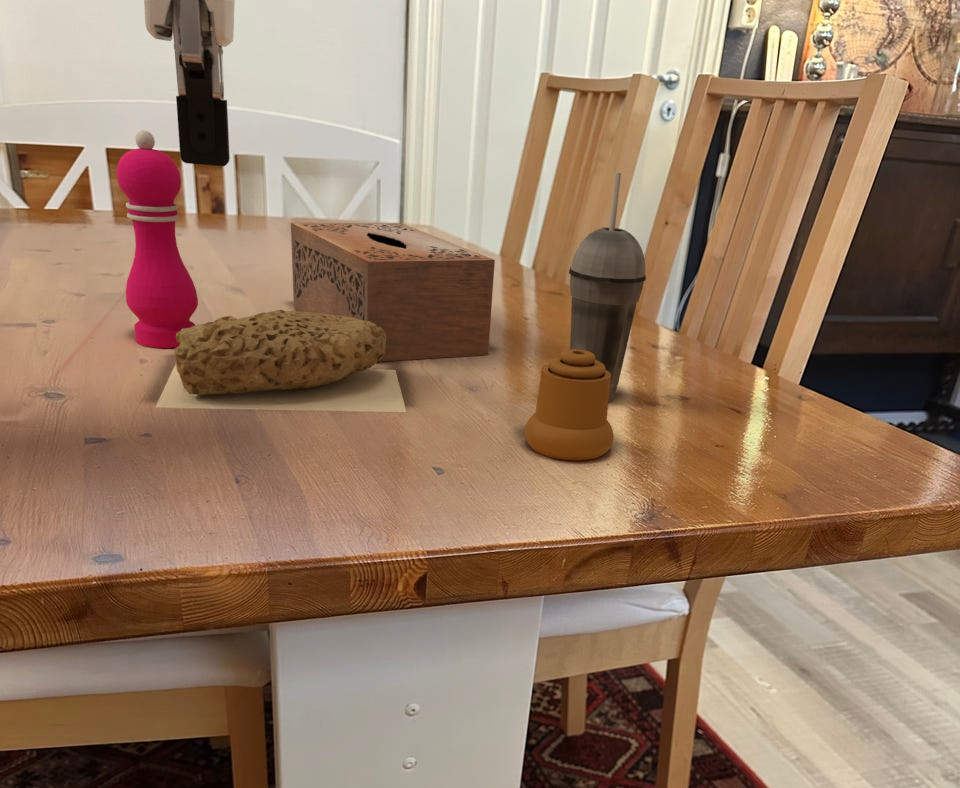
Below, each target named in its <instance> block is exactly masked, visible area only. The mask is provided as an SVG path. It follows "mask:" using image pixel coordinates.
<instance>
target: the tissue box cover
mask: <svg viewBox="0 0 960 788" xmlns="http://www.w3.org/2000/svg"><path fill="white" fill-rule="evenodd" d="M290 238H291V240H290V241H291V242H290V243H291V268H292V269H291V270H292V297H293V299H292V300H293V309H294V311H300V312H310V313H321V314H329V315H336V316H345V317H353V318H356V319H360V320H363V321H366V320H368V321H370V322H372V323H374V324H376V326H377V327H378V326H380V327H381V328H382V329H383V330H384V332H385V334H386V346H385V354H384V356H383V357H382V358H381V359H380V360H378V361H377V362H376V363H378V362H396V361H409V360H410V361H411V360H426V359H443V358H461V357H476V356H489V350H490V349H489V347H490V335H491V333H490V332H491V321H492V304H493V294H494V293H493V291H494V277H495V264H496V263H495V262H496V260H495V259H493V258H491V257H488V256H486V255H483V254H481V253H478V252H476V251H474V250H470V249H468V248H465V247H462V246H460V245H458V244H455V243H452V242H450V241H447V240H446V239H443V238H440V237H437V236H435V235H433V234H430V233H428V232H424V231H422V230H419V229H417V228H415V227H412V226H409V225H407V224H404V223H403V222H402V223H401V222H400V223H399V222H290Z"/></svg>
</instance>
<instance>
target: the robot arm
mask: <svg viewBox="0 0 960 788" xmlns="http://www.w3.org/2000/svg"><path fill="white" fill-rule="evenodd" d="M235 1H236V0H143V3H144V4H143V5H144V22H145V23H144V24H145V29H146V31H147V32H148V34H150V36H152V37H153V38H154V39H156V40H159V41H160V40H161V41H166V42H171V41H172V40H173V49H174V61H175V74H176V83H177V94H178V95H176V96H175V98H176V99H175V101H176V113H177V129H178V130H177V131H178V143H179V156H180V160H181V162H182V163H184V164H190V165H200V166H201V165H202V166H212V167H213V166H216V167H225V166H227V165H228V164H229V162H230V159H231V157H230V142H229V141H230V137H229V136H230V135H229V134H230V133H229V116H228V114H229V113H228V100H227V99H225V86H224V85H225V82H224V57H223V55H224V49H223V48H226V47H227V46H229V45H230V44H232V43H233V42H234V30H235V29H234V27H235V25H234V24H235Z"/></svg>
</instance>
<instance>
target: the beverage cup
mask: <svg viewBox="0 0 960 788" xmlns="http://www.w3.org/2000/svg"><path fill="white" fill-rule="evenodd" d="M621 176H622V173H621V172H615V175H614V181H613V184H614V185H613V191H612V201H611V208H610V209H611V210H610V218H609V226H608V227H601V228H598V229H595V230H594V231H592V232H590V233H589V234H588V235H587V236H585V237H584V238H583V239H582V241H581V242H580V243H579V244H578V246H577V248H576V250H575V252H574V254H573V257H572V261H571V266H570V267H569V271H568V274H569V275H570V276H569V290H570V296H571V308H570V309H571V311H570V340H569V341H570V342H569V344H570V345H569V349H579V350H585V351H589V352H591V353H593V354H594V355H595V358H596V359H595V360H597V361H600V362H601V363H603V364H604V366H605V370H607V371H608V372H610V374H611V381H610V391H609V401H608V403H612V402H613V401H614V400H615V395H616V394H615V393H617V392H616V391H617V388H618V385H619V383H620V378H621V373H622V370H623V364H624V360H625V356H626V352H627V347H628V344H629V343H628V342H629V338H630V334H631V329H632V325H633V322H634V317H635V312H636V309H637V303H639V301H640V298H641V295H642V293H643V288H644V284H645V281H647V277H646V276H647V275H646V260H645V255H644V251H643V249H642V246H641V244H640V243H639V241H638V240H637V238H636V237H635V236H634V235H632V233H631V232H628V231H627V230H625V229H622V228H617V227H616V224H617V223H616V222H617V213H618V206H619V204H618V203H619V195H620V186H621V178H622V177H621Z"/></svg>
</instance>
